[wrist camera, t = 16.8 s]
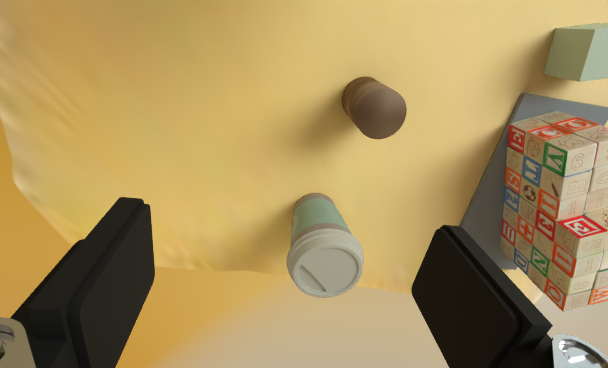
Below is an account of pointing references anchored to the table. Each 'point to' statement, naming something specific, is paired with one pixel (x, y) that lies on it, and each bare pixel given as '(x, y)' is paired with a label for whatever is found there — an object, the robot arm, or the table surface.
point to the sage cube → (579, 53)
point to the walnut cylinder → (374, 107)
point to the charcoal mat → (490, 193)
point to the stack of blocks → (558, 207)
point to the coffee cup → (322, 249)
